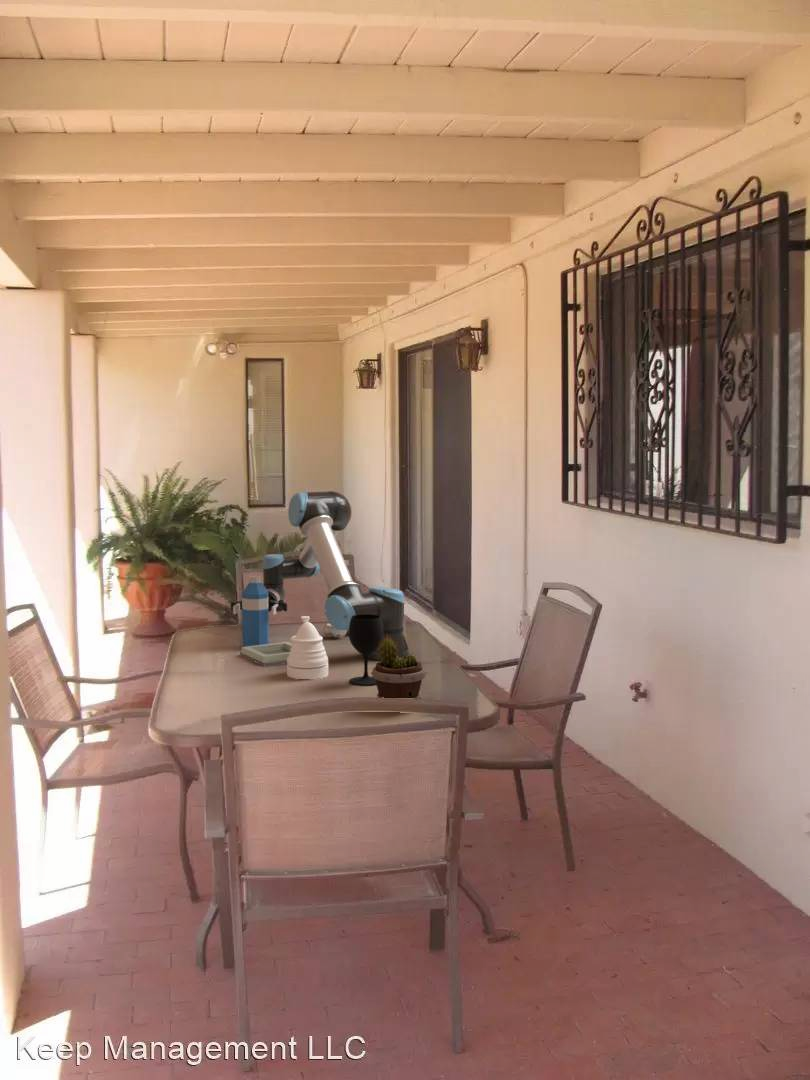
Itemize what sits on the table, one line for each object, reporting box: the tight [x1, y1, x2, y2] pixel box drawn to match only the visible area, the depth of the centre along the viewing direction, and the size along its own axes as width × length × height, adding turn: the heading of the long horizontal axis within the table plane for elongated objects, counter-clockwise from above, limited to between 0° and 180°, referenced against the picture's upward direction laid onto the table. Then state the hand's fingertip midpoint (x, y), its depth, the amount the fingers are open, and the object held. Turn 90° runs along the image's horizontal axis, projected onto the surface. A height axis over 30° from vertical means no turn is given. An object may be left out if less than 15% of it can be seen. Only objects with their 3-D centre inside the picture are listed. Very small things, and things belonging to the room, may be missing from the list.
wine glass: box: [348, 614, 383, 687], centre depth 314 cm, size 10×10×20 cm
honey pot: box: [286, 615, 329, 680], centre depth 323 cm, size 13×13×18 cm
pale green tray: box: [239, 641, 293, 667], centre depth 347 cm, size 20×17×3 cm
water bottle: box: [241, 575, 270, 647], centre depth 361 cm, size 9×9×25 cm
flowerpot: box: [370, 634, 428, 700], centre depth 288 cm, size 14×15×20 cm
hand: (253, 610), depth 359 cm, fingers open, 13 cm apart
